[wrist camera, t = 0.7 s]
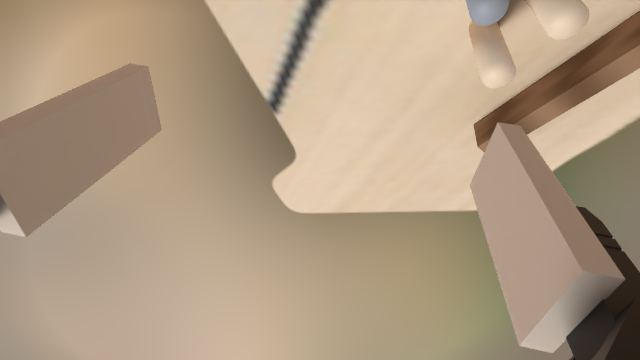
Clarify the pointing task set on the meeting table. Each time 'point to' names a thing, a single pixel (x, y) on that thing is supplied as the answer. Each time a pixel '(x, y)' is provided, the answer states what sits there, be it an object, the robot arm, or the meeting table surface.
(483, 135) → the walnut rail
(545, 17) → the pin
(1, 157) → the robot arm
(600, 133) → the meeting table surface
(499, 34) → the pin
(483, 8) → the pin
